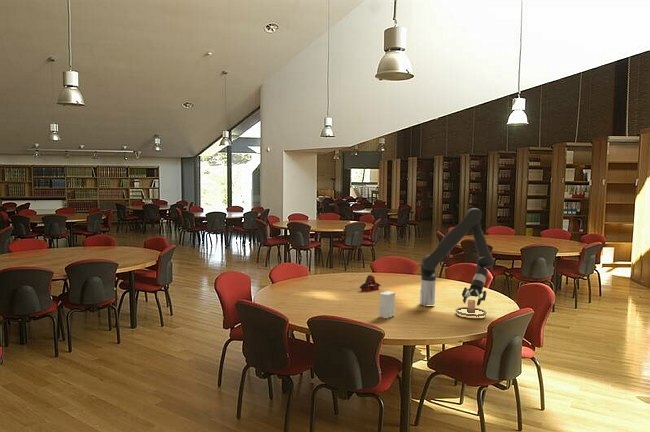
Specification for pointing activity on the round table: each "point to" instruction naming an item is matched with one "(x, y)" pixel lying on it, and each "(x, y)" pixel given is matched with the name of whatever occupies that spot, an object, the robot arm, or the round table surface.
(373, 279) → the logo sign
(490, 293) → the round table surface
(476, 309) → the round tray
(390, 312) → the skincare box
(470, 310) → the clay spool
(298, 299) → the round table surface
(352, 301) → the round table surface
